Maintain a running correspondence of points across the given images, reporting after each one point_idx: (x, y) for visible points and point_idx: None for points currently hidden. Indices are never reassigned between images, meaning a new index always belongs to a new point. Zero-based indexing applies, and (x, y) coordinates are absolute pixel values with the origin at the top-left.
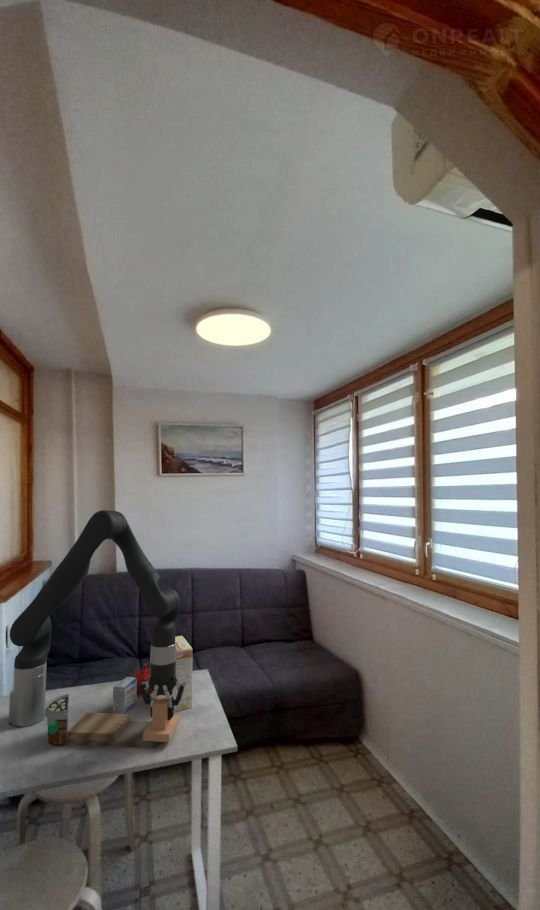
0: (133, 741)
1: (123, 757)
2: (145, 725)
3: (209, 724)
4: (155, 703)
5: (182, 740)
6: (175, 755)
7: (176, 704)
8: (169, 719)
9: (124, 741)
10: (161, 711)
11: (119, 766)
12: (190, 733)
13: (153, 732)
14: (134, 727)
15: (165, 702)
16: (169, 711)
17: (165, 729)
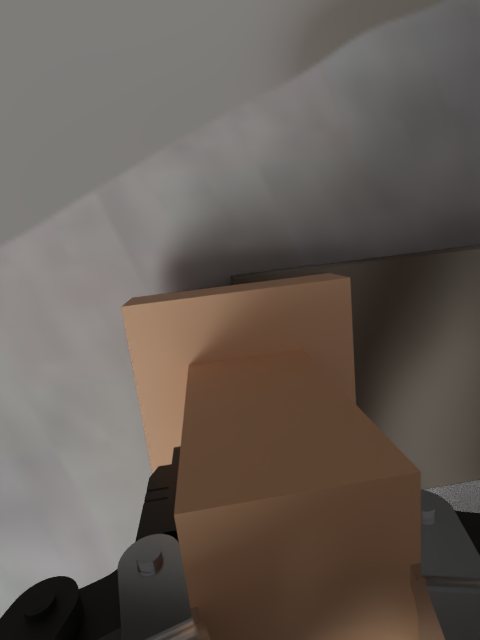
0: (391, 262)
1: (389, 144)
2: None
3: (3, 581)
4: (375, 501)
5: (93, 390)
6: (56, 223)
7: (39, 593)
8: (176, 449)
9: (451, 252)
10: (240, 435)
11: (374, 41)
12: (79, 469)
13: (270, 309)
14: (448, 414)
15: (215, 572)
16: (172, 500)
17: (188, 367)
